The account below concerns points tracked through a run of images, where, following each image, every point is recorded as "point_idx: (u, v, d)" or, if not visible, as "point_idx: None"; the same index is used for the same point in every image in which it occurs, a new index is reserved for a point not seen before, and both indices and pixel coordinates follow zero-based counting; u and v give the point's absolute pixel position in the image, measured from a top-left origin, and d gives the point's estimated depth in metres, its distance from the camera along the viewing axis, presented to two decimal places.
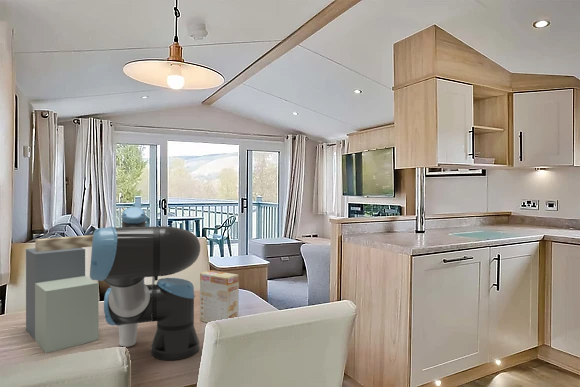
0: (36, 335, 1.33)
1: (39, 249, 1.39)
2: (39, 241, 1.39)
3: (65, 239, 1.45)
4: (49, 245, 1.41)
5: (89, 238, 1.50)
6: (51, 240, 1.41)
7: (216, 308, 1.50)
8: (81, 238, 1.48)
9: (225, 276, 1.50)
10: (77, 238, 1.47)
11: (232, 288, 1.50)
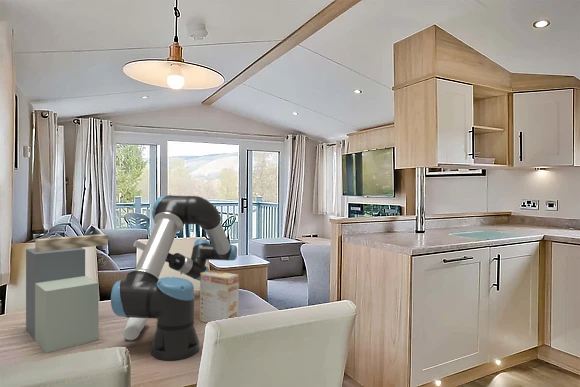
0: (36, 335, 1.33)
1: (39, 249, 1.39)
2: (39, 241, 1.39)
3: (65, 239, 1.45)
4: (49, 245, 1.41)
5: (89, 238, 1.50)
6: (51, 240, 1.41)
7: (216, 308, 1.50)
8: (81, 238, 1.48)
9: (225, 276, 1.50)
10: (77, 238, 1.47)
11: (232, 288, 1.50)
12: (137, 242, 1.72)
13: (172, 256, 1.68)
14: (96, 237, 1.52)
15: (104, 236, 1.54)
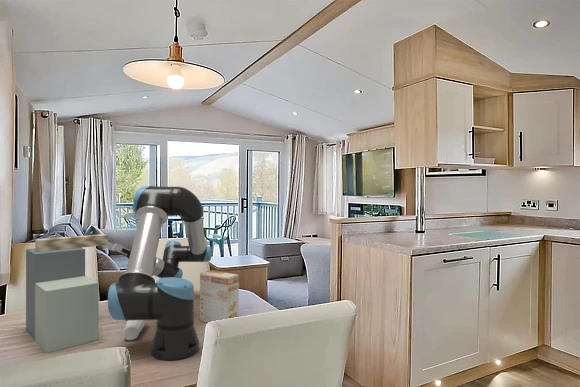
0: (36, 335, 1.33)
1: (39, 249, 1.39)
2: (39, 241, 1.39)
3: (65, 239, 1.45)
4: (49, 245, 1.41)
5: (89, 238, 1.50)
6: (51, 240, 1.41)
7: (216, 309, 1.50)
8: (81, 238, 1.48)
9: (225, 276, 1.50)
10: (77, 238, 1.47)
11: (232, 289, 1.50)
12: None
13: None
14: (96, 237, 1.52)
15: (104, 236, 1.54)
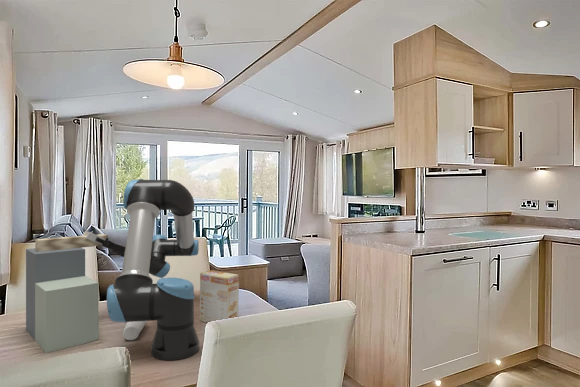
0: (36, 335, 1.33)
1: (39, 249, 1.39)
2: (39, 241, 1.39)
3: (65, 239, 1.45)
4: (49, 245, 1.41)
5: None
6: (51, 240, 1.41)
7: (216, 308, 1.50)
8: (81, 238, 1.48)
9: (225, 276, 1.50)
10: (77, 238, 1.47)
11: (232, 288, 1.50)
12: (86, 233, 1.53)
13: (117, 246, 1.54)
14: None
15: (104, 236, 1.54)
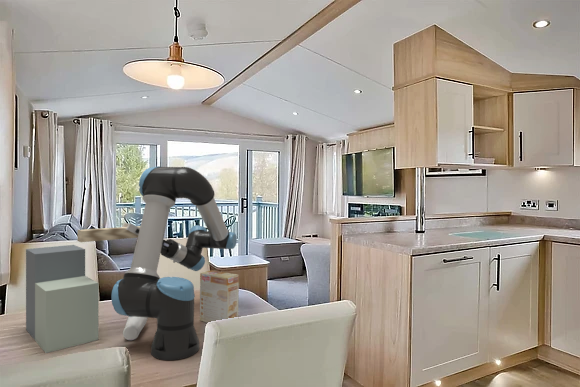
0: (36, 335, 1.33)
1: (82, 240, 1.36)
2: (82, 231, 1.36)
3: (107, 230, 1.42)
4: (91, 235, 1.39)
5: None
6: (93, 231, 1.39)
7: (216, 308, 1.50)
8: (122, 229, 1.46)
9: (225, 276, 1.50)
10: (118, 229, 1.45)
11: (232, 288, 1.50)
12: (125, 224, 1.51)
13: None
14: None
15: None
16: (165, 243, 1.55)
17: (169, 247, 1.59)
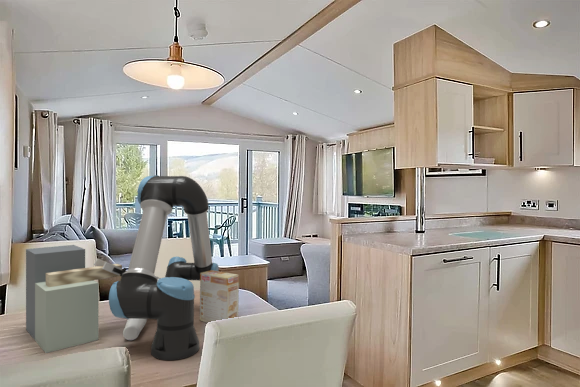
0: (36, 335, 1.33)
1: (50, 284, 1.29)
2: (50, 276, 1.29)
3: (77, 272, 1.35)
4: (60, 279, 1.31)
5: (102, 270, 1.41)
6: (62, 274, 1.32)
7: (216, 309, 1.50)
8: (94, 270, 1.39)
9: (225, 276, 1.50)
10: (90, 270, 1.38)
11: (232, 289, 1.50)
12: (98, 260, 1.45)
13: None
14: None
15: None
16: None
17: None
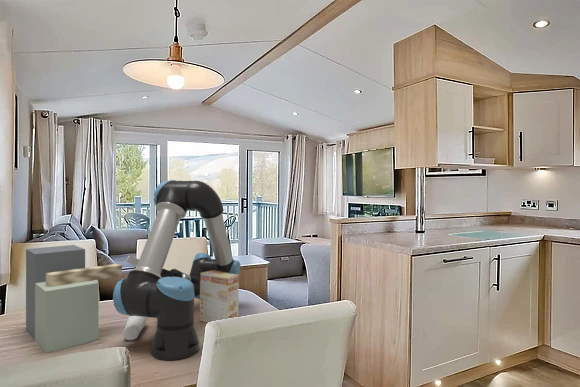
0: (36, 335, 1.33)
1: (50, 284, 1.29)
2: (50, 276, 1.29)
3: (77, 272, 1.35)
4: (60, 279, 1.31)
5: (102, 270, 1.41)
6: (62, 274, 1.32)
7: (216, 308, 1.50)
8: (94, 270, 1.39)
9: (225, 276, 1.50)
10: (90, 270, 1.38)
11: (232, 288, 1.50)
12: (130, 257, 1.56)
13: (168, 273, 1.52)
14: (109, 268, 1.43)
15: (118, 267, 1.45)
16: (174, 276, 1.56)
17: None
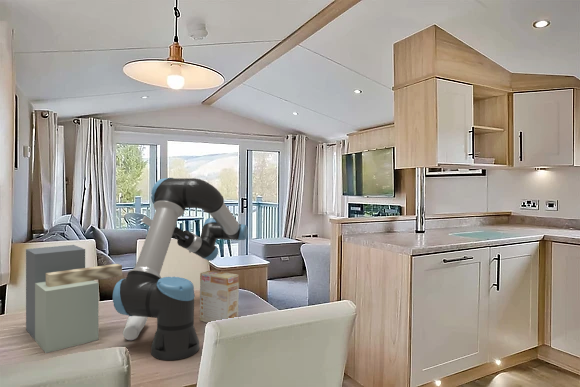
0: (36, 335, 1.33)
1: (50, 284, 1.29)
2: (50, 276, 1.29)
3: (77, 272, 1.35)
4: (60, 279, 1.31)
5: (102, 270, 1.41)
6: (62, 274, 1.32)
7: (216, 308, 1.50)
8: (94, 270, 1.39)
9: (225, 276, 1.50)
10: (90, 270, 1.38)
11: (232, 288, 1.50)
12: (145, 218, 1.68)
13: (181, 231, 1.63)
14: (109, 268, 1.43)
15: (118, 267, 1.45)
16: (186, 236, 1.67)
17: None
